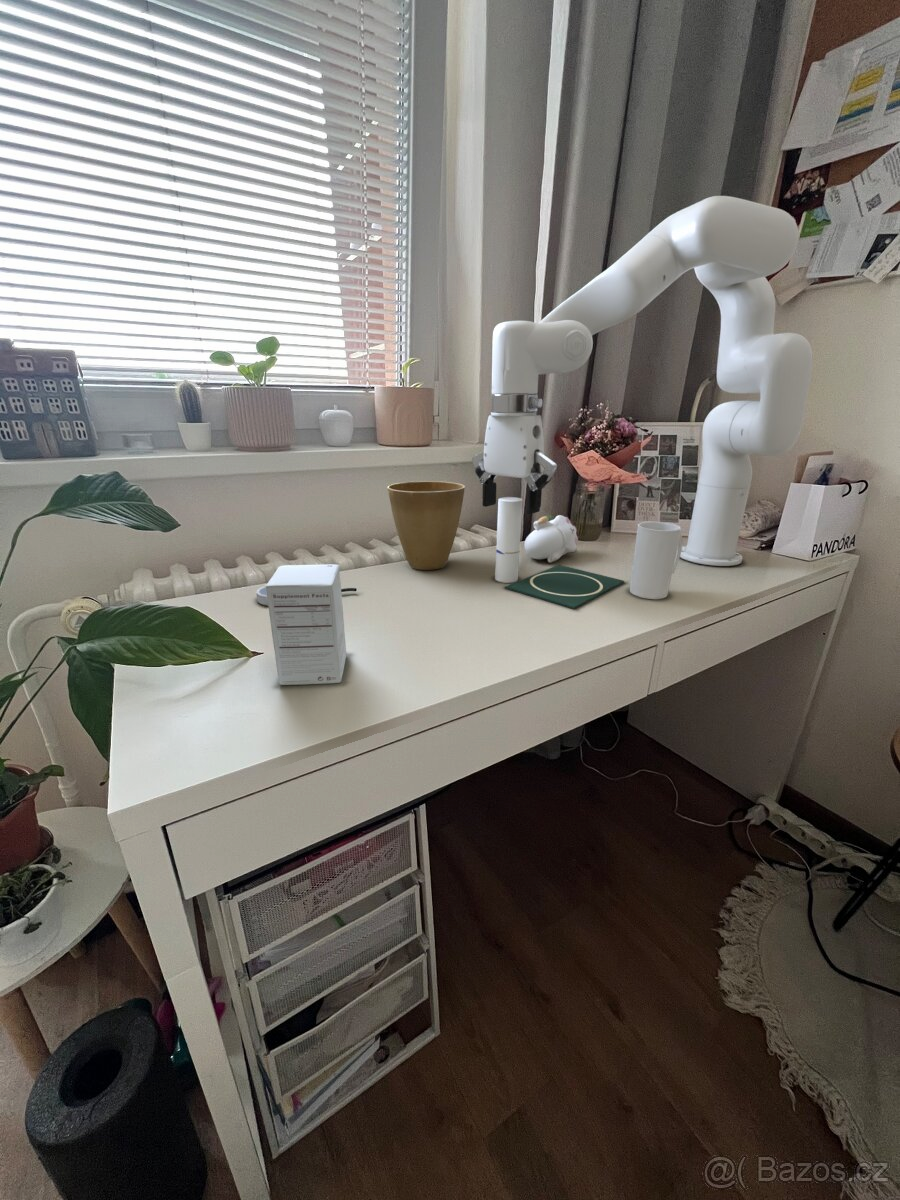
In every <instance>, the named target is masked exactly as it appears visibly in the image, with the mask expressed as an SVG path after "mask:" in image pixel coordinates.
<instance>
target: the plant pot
mask: <svg viewBox="0 0 900 1200" xmlns="http://www.w3.org/2000/svg"><path fill="white" fill-rule="evenodd" d="M465 488H466V486H465V485H464V484H461V483H457V482H451V481H436V480H435V481H434V480H433V481H431V480H430V481H429V480H424V481H423V480H422V481H421V480H420V481H404V482H397V483H392V484H389V485H388V486H387V492H388V499H389V503H390V508H391V513H392V518H393V521H394V525H395V529H396V532H397V536H398V538H399V542H400V545H401V548H402V551H403V552H404V555H405V558H406V560H407V564H408V565H409V567H411V568H412V569H414V570H415V569H416V570H421V571H433V570H440V569H442V568H444V567H446V564H447V562H448V559H449V557H450V555H451V551H452V548H453V545H454V543H455V539H456V535H457V531H458V527H459V523H460V519H461V514H462V509H463V504H464V503H463V502H464V495H465Z"/></svg>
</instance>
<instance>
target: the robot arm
mask: <svg viewBox="0 0 900 1200" xmlns="http://www.w3.org/2000/svg"><path fill="white" fill-rule="evenodd" d="M798 245H799V227H798V224H797V222H796V220H795V219H794V217H793V216H792V215H791V214H790V213H789V212H787V211H785V210H784V209H781V208H778V207H774V206H770V205H767V204H764V203H763V204H762V203H759V202H755V201H752V200H748V199H744V198H739V197H735V196H729V195H713V196H709V197H706V198H704V199H702V200H700V201H697V202H696V203H693V204H690V205H689V206H687V207H685V208H682V209H680V210H678V211H676V212H675V213H672V214H671V215H669V216H667V217H666V218H665V219H664V220H662V221H660V222H659V223H658V224H657V225H656V226H655V227H654V228H653V229H652V230H650V231H649V232H648V233H647V234H646V235H645V236H643V238H641V239H640V240H639V241H638V242H636V243H635V244H634V245H633V246H632V247H631V248H630V249H628V251H627V252H626V253H624V254H623V255H622V256H621V257H619V258H618V259H617V260H616V261H615V262H614V263H612V264H611V265H610V266H609V267H607V268H606V269H605V270H604V271H602V272H601V273H599V274H598V275H596V276H595V277H594V278H593V279H592V280H590V281H589V282H587V283H586V284H585V285H584V286H583V287H582V288H580V289H579V290H577V291H576V292H575V293H573V294H572V295H571V296H569V297H568V298H566V299H565V300H563V302H561V303H559V304H558V305H557V306H556V307H555V308H553V310H551V311H550V312H549V313H548V314H547V315H546V316H545V317H543V318H542V319H541V320H540V321H538V322H534V321H529V320H509V321H503V322H500V323H497V324H496V326H494V328H493V331H492V349H491V350H492V351H491V352H492V353H491V355H492V356H491V361H492V362H491V402H490V403H491V404H490V405H491V407H490V408H491V409H490V410H491V411H490V414H489V415H488V418H487V421H486V426H485V427H486V428H485V435H484V443H483V445H484V446H483V450H482V451H481V452H479V453H477V454H476V455H474V456H473V457H472V459H471V462H472V465H473V467H474V469H475V470H474V472H475V474H476V476H477V477H478V479H479V484H481V485H482V497H481V499H482V507H486V508H487V507H490V506H495V505H496V504H497V482H494V481H495V480H496V479H497V477H498V476H500V477H510V478H518V479H524V480H525V482H526V484H527V485H528V487H529V489H528V490H527V491H526V508H525V512H526V514H527V515H533V514H536V513H539V512H540V511H541V506H542V494H543V493H542V491H543V490H544V489H545V488H546V486H547V485H548V484H549V483H550V482H551V481H552V479H553V476H554V474H555V472H556V470H557V468H558V464H557V463H556V462H554V461H553V460H552V459H551V458H549V457H548V456H546V455H545V439H544V438H545V437H544V428H543V420H542V415H541V414H537V412H538V409H539V408H542V407H543V404H544V401H543V399H542V398H538V397H539V395H538V393H539V391H538V389H539V387H538V386H539V375H550V374H564V373H570V372H573V371H576V370H577V369H580V368H581V367H582V366H583V365H584V364H586V362H587V361H588V360H589V359H590V356H591V354H592V351H593V344H594V341H593V336H594V335H596V334H598V333H599V332H601V331H604V330H606V329H609V328H611V327H614V326H617V325H618V324H620V323H623V322H625V321H627V320H629V319H630V318H632V317H634V316H636V315H637V314H638V313H640V312H641V311H642V310H643V309H644V308H645V307H647V306H648V305H649V304H650V303H651V302H652V301H653V300H655V299H656V297H658V296H659V295H660V294H661V293H662V292H664V291H665V290H666V289H668V287H670V286H671V285H672V284H673V283H674V282H675V281H677V280H678V278H680V277H681V276H682V275H684V274H685V273H686V272H688V271H690V270H693V269H694V272H695V276H696V278H697V280H698V281H699V282H700V283H701V284H702V286H704V287H705V288H706V289H707V290H708V291H709V292H710V293H711V294H712V295H713V297H714V299H715V300H716V302H717V304H718V307H719V311H720V332H719V333H720V334H719V342H718V353H717V363H716V382H717V386H718V387H719V389H721V391H723V392H726V393H729V394H759V400H730V401H726V402H723V403H721V404H718V405H716V406H715V407H714V408H713V409H711V410H710V411H709V413H708V414H707V416H706V417H705V419H704V421H703V425H702V433H701V438H702V439H701V442H702V444H701V445H702V456H701V464H700V471H699V477H698V482H697V486H696V492H695V493H696V494H695V498H694V504H693V509H692V515H691V518H690V519H691V520H690V525H689V531H688V536H687V541H686V545H684V546H683V545H682V550H681V555H680V558H681V559H682V560H684V561H688V562H691V563H695V564H699V565H706V566H714V567H733V566H737V565H740V564H741V563H742V562H743V556H742V554H741V553H739V552H737V547H738V542H739V538H740V535H741V534H740V533H741V530H742V525H743V520H744V517H745V511H746V508H747V507H746V506H747V503H748V498H749V494H750V489H751V485H752V481H753V480H752V479H753V465H752V462H751V457H750V455H751V456H759V457H760V456H761V457H776V456H777V457H778V456H781V455H783V454H785V453H787V452H788V451H790V450H791V449H792V448H793V447H794V445H795V444H796V443H797V441H798V439H799V437H800V434H801V432H802V430H803V426H804V422H805V421H804V420H805V415H806V409H807V404H808V397H809V391H810V385H811V380H812V373H813V364H814V356H813V350H812V346H811V344H810V342H809V340H807V338H806V337H805V336H803V335H801V334H799V333H796V332H781V333H774V331H775V318H776V317H775V316H776V297H775V293H774V290H773V288H772V285H771V284H770V281H768V279H767V277H768V276H771V275H774V274H776V273H777V272H779V271H780V270H782V269H783V268H784V267H785V266H786V265H787V264H789V262H790V261H791V260H792V258H793V256H794V254H795V252H796V250H797V248H798Z"/></svg>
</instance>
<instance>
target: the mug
mask: <svg viewBox="0 0 900 1200" xmlns="http://www.w3.org/2000/svg"><path fill="white" fill-rule="evenodd" d="M682 531H683V530H682V527H681V526H680V525H678V524H674V523H669V522H665V521H664V522H663V521H642V522H639V523H637V530H636V536H635V544H634V552H633V559H632V567H631V575H630V576H631V577H630V585H629V592H630V593H631V594H632V595H633V596H635V597H638V598H643V599H647V600H662V599H665V598H666V597H667V596H668V595H669V589H670V586H671V581H672V577H673V575H674V574H675V571H676V569H677V566H678V563H679V561H680V558H681V557H680V555H681V550H682V547H683V535H682Z"/></svg>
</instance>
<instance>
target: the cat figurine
mask: <svg viewBox="0 0 900 1200" xmlns="http://www.w3.org/2000/svg"><path fill="white" fill-rule="evenodd" d="M532 525H533V528H534V530H533V531H531V532H530V533H529V534H528V535H527V536H526V538H525V540H524V545H523V546H524V551H525V553H526V554H527V555H528V557H530V558H532V559H534V560H546V559H547V562H548V563H550V564H551V563H554V562H556V561H558V560H559V559H560V558H561V557H562V556H564V555H567V553H573V552H575V551H577V549H578V545H579V536H580V535H579V531H578V530H577V527H576V526H575V523H574V521H572V520H570V519H569V517H568V516H564V515H561V514H558V515H556V516H555V518H554V519H552V515H551V514H550V515H549V514H547V515H543V516H541V517H540V518H539V519H538V520H535V521H534V522H533V524H532Z"/></svg>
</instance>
